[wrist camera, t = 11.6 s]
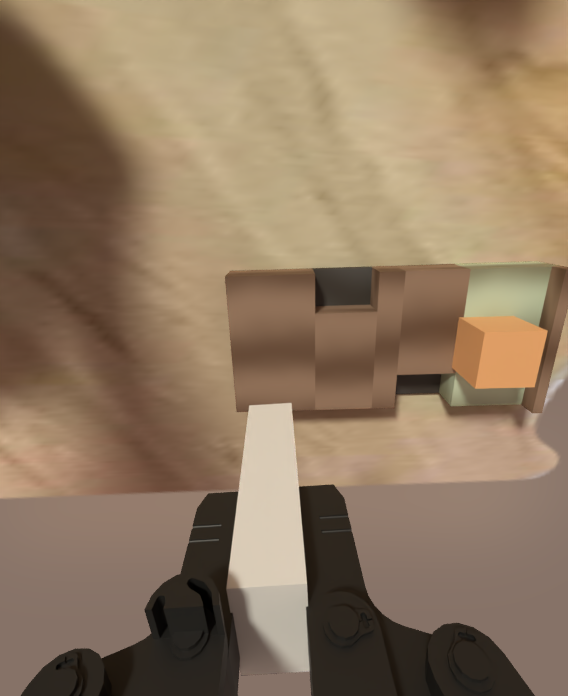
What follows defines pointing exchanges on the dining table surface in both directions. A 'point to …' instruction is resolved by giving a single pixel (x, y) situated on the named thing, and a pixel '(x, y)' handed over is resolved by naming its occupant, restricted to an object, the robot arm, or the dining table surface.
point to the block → (498, 351)
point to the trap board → (381, 331)
